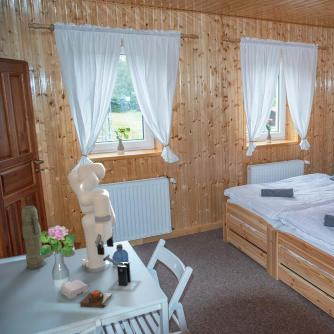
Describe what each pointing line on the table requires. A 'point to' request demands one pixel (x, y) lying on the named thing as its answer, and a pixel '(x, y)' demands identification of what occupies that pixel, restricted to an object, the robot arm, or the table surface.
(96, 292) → the button
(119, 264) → the lever
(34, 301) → the table surface
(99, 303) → the button block
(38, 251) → the stone head statue
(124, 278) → the tap bracket
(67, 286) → the pale pink block
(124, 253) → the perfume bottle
